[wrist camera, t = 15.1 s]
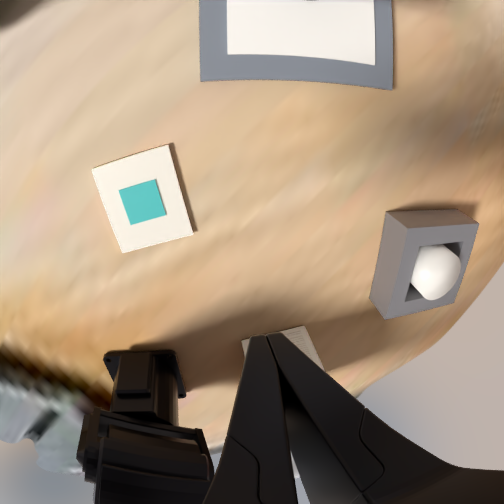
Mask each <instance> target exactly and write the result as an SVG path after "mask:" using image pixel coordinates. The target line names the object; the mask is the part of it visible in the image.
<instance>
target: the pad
mask: <svg viewBox="0 0 504 504" xmlns="http://www.w3.org/2000/svg"><path fill="white" fill-rule="evenodd" d="M199 34H200V80H201V82H205V81H225V80H290V81H310V82H324V83H336V84H346V85H355V86H363V87H370V88H377V89H384V90H392V84H393V29H392V7H391V0H316V1H307V0H199Z"/></svg>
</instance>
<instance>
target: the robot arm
mask: <svg viewBox="0 0 504 504" xmlns="http://www.w3.org/2000/svg"><path fill="white" fill-rule="evenodd" d="M169 355H170V356H169ZM103 361H104V363H105V365H106V367H107V369H108V371H109V373H110V375H111V378H112V380H113V382H114V386H113V392H112V399H111V406H110V411H106V410H102V409H101V408H99V407H95V406H94V412H93V414H89V415H84V419H83V424H82V430H81V435H80V440H79V445H78V450H77V456H76V459H77V460H78V462H79V463H80V464H81V466H82V467H83V470H82V472H85V481H86V482H90V483H94V494H93V501H94V504H298V499H297V493H296V485H295V478H294V471H293V465H292V458H291V453H292V456H293V459H294V462H295V464H296V467H297V470H298V472H299V475H300V478H301V481H302V483H303V486H304V488H305V491H306V494H307V496H308V499H309V501H310V504H504V471H501V470H483V469H470V468H462V467H458V466H454V465H452V464H449V463H447V462H445V461H443V460H441V459H439V458H438V457H436V456H434V455H433V454H431V453H429V452H428V451H426V450H425V449H423V448H421V447H420V446H418V445H417V444H415V443H413V442H412V441H410V440H409V439H407V438H405V437H404V436H403V435H401V434H400V433H398V432H397V431H395V430H394V429H392V428H391V427H389V426H388V425H387V424H386V423H384V422H383V421H382V420H381V419H379V418H378V417H377V416H376V415H375V414H373V413H372V412H371V411H370V410H369V409H368V408H365V406H364V405H362V403H360V402H359V401H358V400H357V399H356V398H355V397H353V396H352V395H351V394H350V393H349V392H348V391H346V390H345V389H344V388H343V387H342V386H341V385H340V384H338V383H337V382H336V381H335V380H334V379H333V378H332V377H331V376H329V375H328V374H327V373H326V372H325V371H324V370H323V369H321V368H320V367H319V366H318V365H317V364H316V363H315V362H314V361H313V360H311V359H310V358H309V357H308V356H307V355H306V354H305V353H304V352H302V351H301V350H300V349H299V348H298V347H297V346H296V345H295V344H294V343H293V342H291V341H290V340H289V339H288V338H287V337H286V336H285V335H284V334H283V333H281V332H274V333H268V334H266V335H265V334H259V335H252V336H250V339H249V343H248V347H247V352H246V356H245V360H244V365H243V369H242V373H241V377H240V382H239V386H238V390H237V394H236V398H235V403H234V407H233V411H232V415H231V419H230V423H229V427H228V431H227V436H226V439H225V443H224V447H223V451H222V454H221V458H220V461H219V464H218V467H217V470H216V473H215V475H214V466H213V462H212V459H211V457H210V453H209V450H208V447H207V444H206V441H205V438H204V434H203V431H202V429H198V428H195V429H191V428H185V427H179V422H178V399H179V398H185V397H186V389H185V386H184V382H183V378H182V375H181V371H180V367H179V363H178V359H177V355H176V353H175V352H174V351H172V350H163V351H147V352H127V353H106V354H104V358H103Z"/></svg>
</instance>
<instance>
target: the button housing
mask: <svg viewBox="0 0 504 504" xmlns="http://www.w3.org/2000/svg"><path fill="white" fill-rule="evenodd" d="M478 226H479V223H478V222H476V221H475V220H473V219H472V218H470V217H469V216H467V215H466V214H464V213H462V212H461V211H459V210H458V209H444V210H415V211H392V212H386V214H385V221H384V227H383V233H382V238H381V244H380V249H379V254H378V259H377V264H376V269H375V274H374V279H373V283H372V288H371V292H370V296H369V299H370V300H371V302H372V303H373V304H374V306H375V307H376V308H377V310H378V311H379V312H380V314H381V315H382V317H383V318H384V319H385V320H386V319H391V318H395V317H400V316H404V315H408V314H413V313H417V312H421V311H425V310H429V309H433V308H437V307H441V306H444V305H448V304H452V303H454V301H455V298H456V295H457V293H458V290H459V287H460V284H461V282H462V279H463V276H464V273H465V270H466V267H467V264H468V261H469V257H470V254H471V251H472V248H473V244H474V241H475V237H476V233H477V230H478ZM435 244H443V245H444V246H445V247H447V248H448V249H449V250H450V251H452V252H453V253H454V254H455V255H456V256H458V257H459V259H460V262H461V270H460V274H459V277H458V279H457V281H456V283H455V284H454V286H453V287H452V288H451V289H450V290H449V291H448V292H447V293H446V294H445V295H443V296H442V297H440V298H438V299H435V300H427V299H425V298H424V297H423V296H422V295H421V293H420V292H419V291H418V290H417V289H416V288H415V287H414V286H413V285H412V284H411V283H410V281H411V277H412V274H413V270H414V266H415V262H416V258H417V254H418V250H419V246H427V245H435Z"/></svg>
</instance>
